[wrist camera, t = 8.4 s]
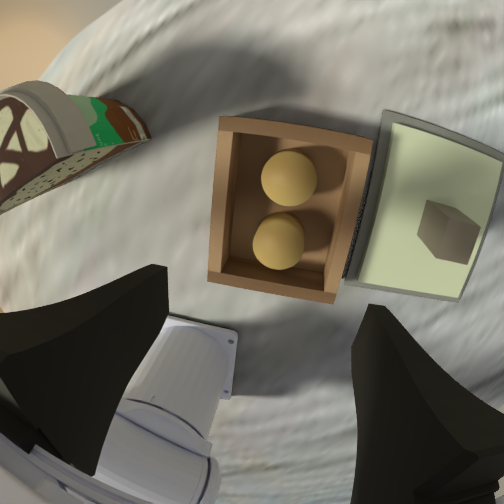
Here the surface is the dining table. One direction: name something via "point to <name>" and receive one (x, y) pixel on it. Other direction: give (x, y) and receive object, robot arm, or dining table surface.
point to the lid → (428, 214)
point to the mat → (374, 189)
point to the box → (284, 206)
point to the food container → (57, 138)
